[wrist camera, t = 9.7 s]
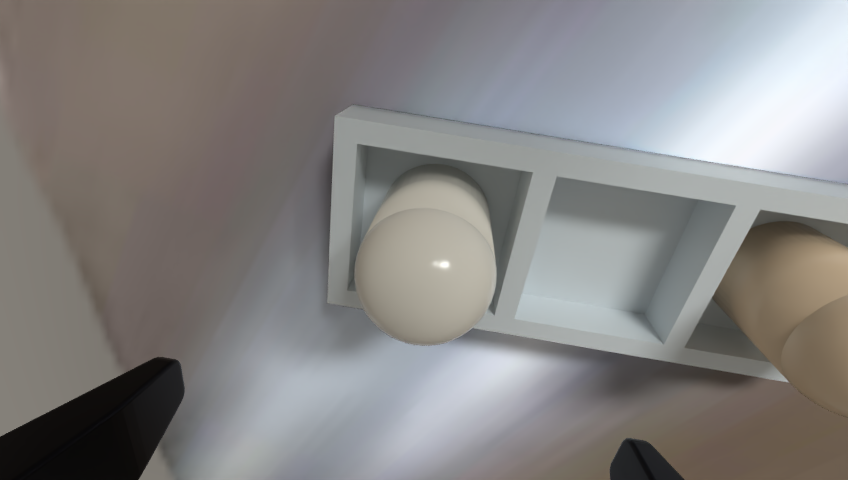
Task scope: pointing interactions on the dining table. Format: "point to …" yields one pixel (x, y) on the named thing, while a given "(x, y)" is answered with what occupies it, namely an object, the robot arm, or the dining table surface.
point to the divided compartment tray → (584, 232)
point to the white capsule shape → (428, 257)
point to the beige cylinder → (794, 306)
